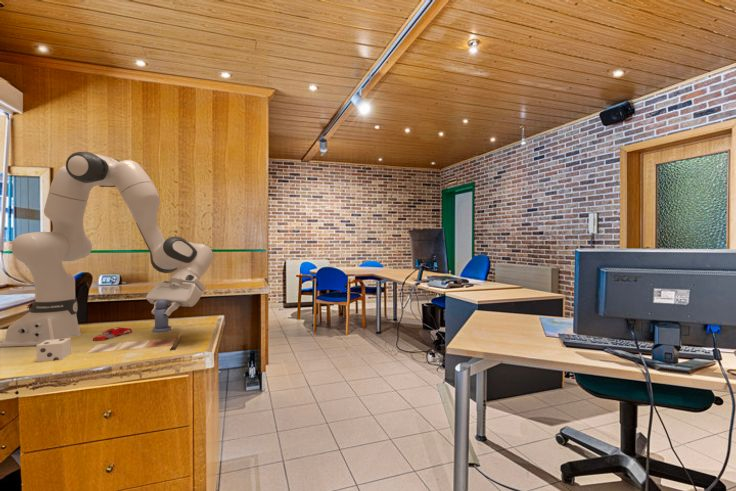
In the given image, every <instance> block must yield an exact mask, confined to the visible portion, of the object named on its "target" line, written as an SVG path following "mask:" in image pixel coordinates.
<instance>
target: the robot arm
mask: <svg viewBox="0 0 736 491" xmlns="http://www.w3.org/2000/svg"><path fill="white" fill-rule="evenodd" d="M96 186H98V187H100V188H116V189H117V190H118V192H119V195H121V197H122V199H123V201H124V202H125V205H126V206H127V208H128V209H129V212H130V214H131V215H132V217H133V219H134V221H135V224H136V226H137V228H138V229H137V230H138V231H139V233H140V234H141V237H142V239H143V241H144V243H145V245H146V246H147V248H148V250H149V251H148V252H149V258H150V264H151V266H152V267H153V268H154V270H155V271H158V272H159V273H164V274H170V273H172V274H171V276H170V277H169V279H168V280H163V281H162V282H159V283H157V284H156V285H155V286H154V287H153V288H152V289H151V290H150V291H149V292H147V295H146V297H145V299H146V301H148V302H149V303H150V304H152V305H154V306H153V309H152V310H151V314H152V315H155V309H156V307H155V304H156V302H157V301H158V300H161V299H162V300H165V301H166V302H167V306H169V307H167V308H168V309H165V311H164V312H163V314H165V315H166V316H168V317H169V316H170V315H171V314H172V313H173V312H174V311H176V310H178V309H179V307H186V308H187V307H189V308H192V307H194V306H195V305H196V304H197V303H198V302H199V300H200V298H201V297H202V295H203V292H205V291H206V289H207V287H206V286H205V284H204V283H203V282H202V281H201V279H202V278H201V277H202V276H204V274H205V273H206V272H207V271H208V269H210V266H211V264H212V263H213V260H214V253H213V251H212V249H211V248H210V247H209V246H207V244H206V245H205V244H203V243H195V242H191V241H188V240H186V239H185V238H183V237H181V236H170V237H168V238H166V239H165V238H164V235H163V233H162V231H161V229H160V227H159V224H158V212H159V209H160V205H161V198H160V195H159V192H158V189H157V188H156V186H155V184H154V183H153V181H152V178H150V176H149V175H148V174H147V172H146V171H145V170H144V168H143V167H142V166H141V165H140V163H138V162H136V161H135V160H130V159H125V160H119V159H116V158H113V157H110V156H107V155H105V154H104V155H103V154H97V153H92V152H88V151H76V152H73V153H72V154H70V155H69V156H68V157H67V159H66V161H65V165H64V166H61V167H60V168H58V169H57V170H56V172H55V174H54V177H53V179H52V181H51V184H50V187H49V190H48V194H47V197H46V201H45V203H44V209H43V214H44V216H45V217H46V218H47V219H49V220H50V221H51V223H52V231H33V232H26V233H22V234H19V235H17V236H16V237H15V238H14V239H13V241H12V243H11V252H12V255H13V256H14V258H16V260H18V261H20V262H22V264H24V265H25V266H26V267H27V269H28V270H29V272H30V273H31V276H32V278H33V282H34V284H33V285H34V293H35V294H34V297H35V298H34V299H35V300H34V301H32V302H31V303H28V304H26V309H28V311H29V312H27V313H26V314H24V315H22V317H20V318H18V319H17V320H16V321H14V322H13V323H11V324H10V325H9V326H8V327H7V330H6V333H5V338H3V339H0V348H2V347H3V348H5V347H7V348H9V347H27V346H28V347H29V346H37V345H38V344H40V343H42V342H44V341H46V340H53V339H65V338H71V337H80V336H82V332H81V329H80V327H79V322H78V317H77V316H78V315H77V313H78V299H77V297H76V279H75V278H76V277H75V276H74V275H72V274H71V273H69V272H67V271H66V268H65V267H64V265H63V262H73V261H77V260H80V259H84V258H86V257H88V256H89V255H90V254H91V252H92V249H93V244H92V241H91V239H90V237H88V236H87V234H86V232H85V229H84V218H85V212H86V207H87V204H88V201H89V197H90V196H89V195H90V192H91V191H92V189H93V188H94V187H96Z"/></svg>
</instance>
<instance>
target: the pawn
mask: <svg viewBox="0 0 736 491" xmlns="http://www.w3.org/2000/svg"><path fill="white" fill-rule="evenodd" d="M155 307H156V309H155V314H154V327H152V328H151V332H152V333H160V334H161V333H167V332H170V331H171V330H172V325H169V316H166V315H165V314H163V312H164V311H165V309H168V308H169V307H168V305H167V302H166V301H165V300H162V299H161V300H158V301H157V302H156V304H155Z"/></svg>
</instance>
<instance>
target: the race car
mask: <svg viewBox="0 0 736 491" xmlns="http://www.w3.org/2000/svg"><path fill="white" fill-rule="evenodd" d="M131 333H132V334H133V330H132V328H131V327H118V326H117V327H112V328H109V329H106V330H105V331H102V333H100V334H98V335H95V336H93V338H92V341H93V342H104V341H107V340H110V339H114V338H118V337H122V336H125V335H128V334H131Z"/></svg>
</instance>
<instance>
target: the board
mask: <svg viewBox="0 0 736 491" xmlns="http://www.w3.org/2000/svg"><path fill="white" fill-rule="evenodd" d="M180 342H181V336H179V337H175V338H174V337H170V338H159V339H152V340H150V339H149V340H148V339H147V340H138V341H136V340H135V341H126V342H115V343H114V342H113V343H103V344H102V343H101V344H96V345H94V346H93V347H92V348H91V349H90V350H88V351H87V352H86V354H91V353H92V354H93V353H94V354H95V353H105V352H113V351H114V352H115V350H116V351H125V350H137V349H145V348H146V349H148V348H150V349H151V348H158V347H159V348H160V347H170V349H169V351H176V349H177V348H178V346H179V344H180Z"/></svg>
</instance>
